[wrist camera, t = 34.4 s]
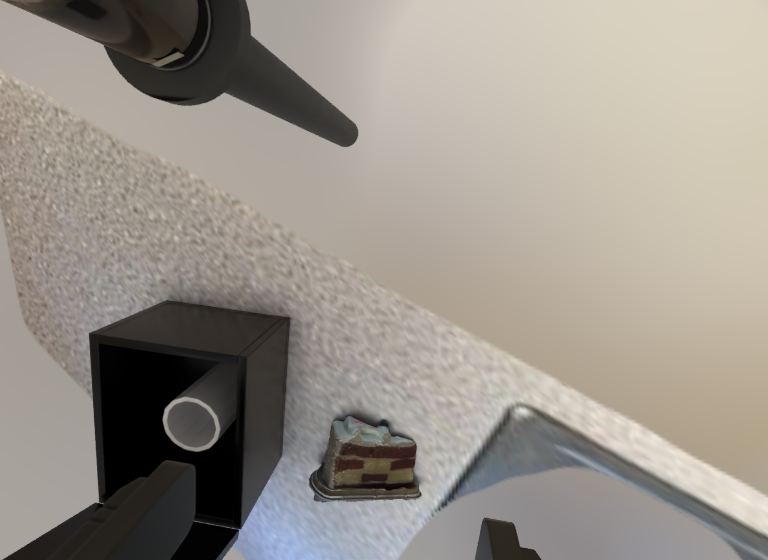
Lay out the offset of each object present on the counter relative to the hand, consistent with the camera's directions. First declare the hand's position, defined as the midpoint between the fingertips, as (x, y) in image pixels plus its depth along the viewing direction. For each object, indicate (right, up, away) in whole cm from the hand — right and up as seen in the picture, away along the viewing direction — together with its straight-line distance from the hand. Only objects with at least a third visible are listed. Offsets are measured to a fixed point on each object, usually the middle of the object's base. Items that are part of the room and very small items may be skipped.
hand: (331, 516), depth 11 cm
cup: (-14, -4, +33) cm, 36 cm away
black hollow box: (-16, -5, +34) cm, 38 cm away
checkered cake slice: (0, -12, +34) cm, 36 cm away
